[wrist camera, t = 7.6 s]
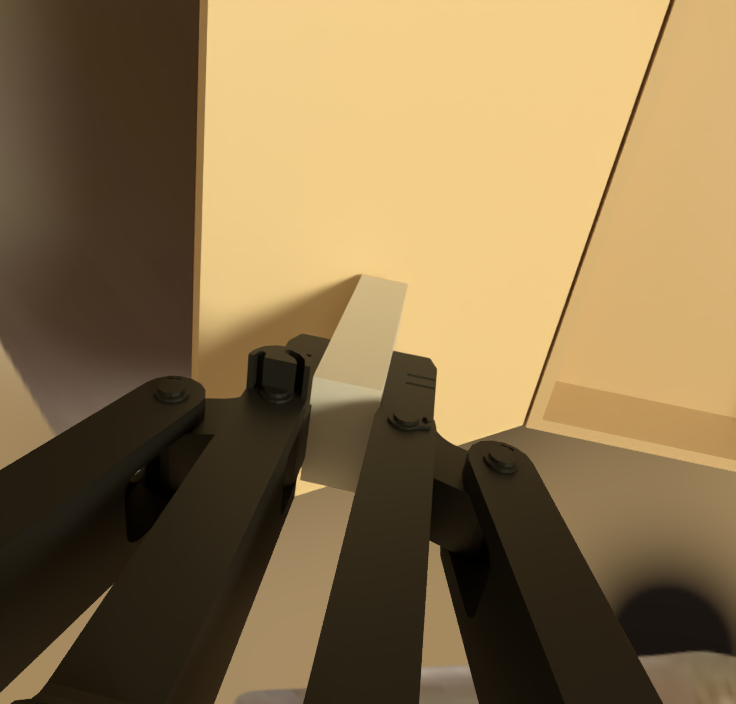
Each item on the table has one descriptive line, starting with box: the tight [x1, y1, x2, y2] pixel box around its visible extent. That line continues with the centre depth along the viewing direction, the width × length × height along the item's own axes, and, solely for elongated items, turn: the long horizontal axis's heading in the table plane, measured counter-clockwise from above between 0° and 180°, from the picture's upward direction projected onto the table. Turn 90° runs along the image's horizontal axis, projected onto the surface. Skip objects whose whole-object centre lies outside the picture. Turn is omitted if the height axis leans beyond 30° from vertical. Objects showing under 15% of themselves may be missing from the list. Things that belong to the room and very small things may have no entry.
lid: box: [192, 0, 670, 496], centre depth 18 cm, size 22×16×1 cm
